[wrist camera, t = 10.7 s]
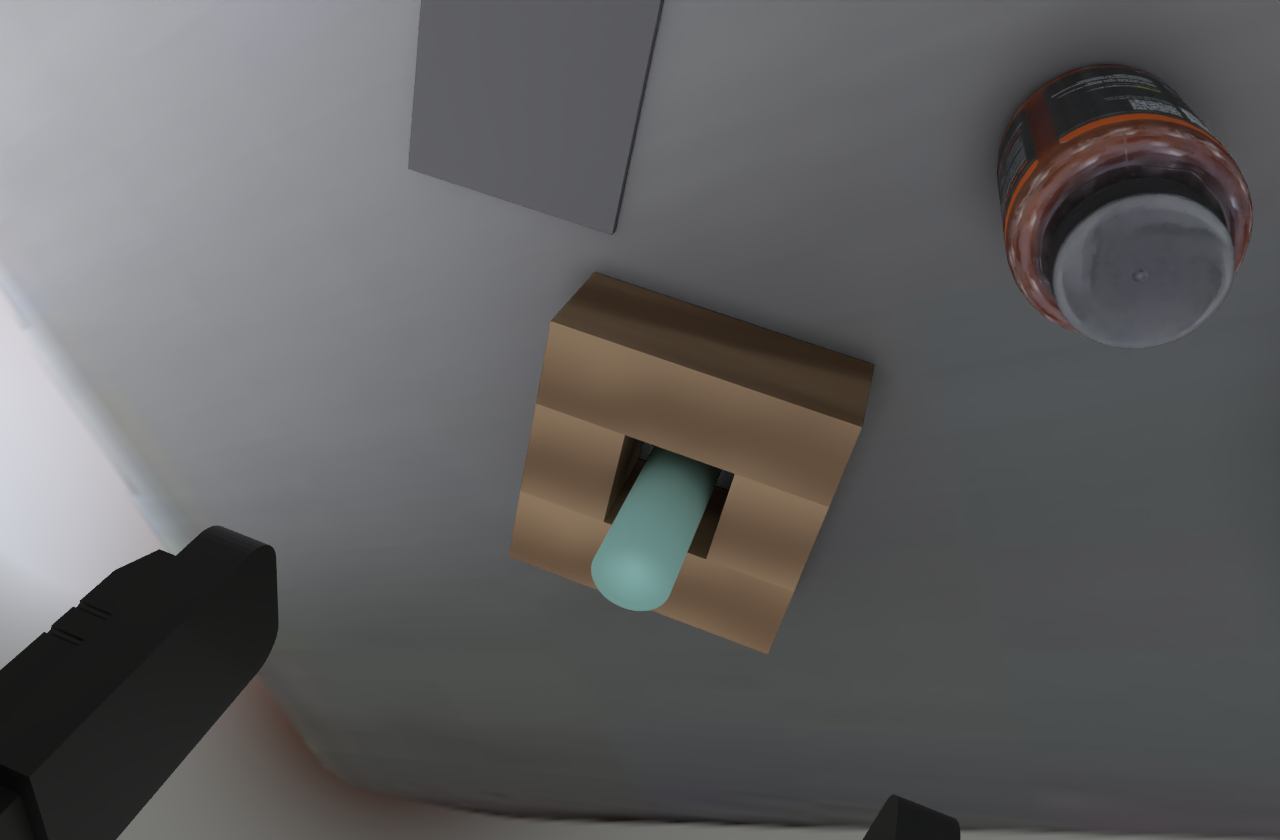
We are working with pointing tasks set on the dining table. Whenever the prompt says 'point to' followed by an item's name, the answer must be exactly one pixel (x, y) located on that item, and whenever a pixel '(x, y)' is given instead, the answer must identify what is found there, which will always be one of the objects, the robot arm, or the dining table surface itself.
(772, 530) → the hole block
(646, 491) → the peg
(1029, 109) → the supplement bottle
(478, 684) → the dining table surface
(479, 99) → the mat
